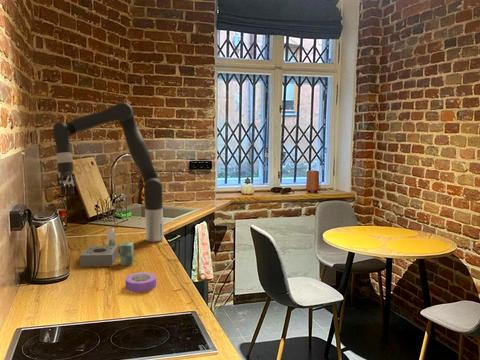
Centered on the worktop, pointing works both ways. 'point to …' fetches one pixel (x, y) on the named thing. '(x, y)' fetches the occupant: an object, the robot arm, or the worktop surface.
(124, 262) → the square peg
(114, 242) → the steel peg
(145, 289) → the masking tape
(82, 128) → the robot arm
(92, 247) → the socket block
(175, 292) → the worktop surface
